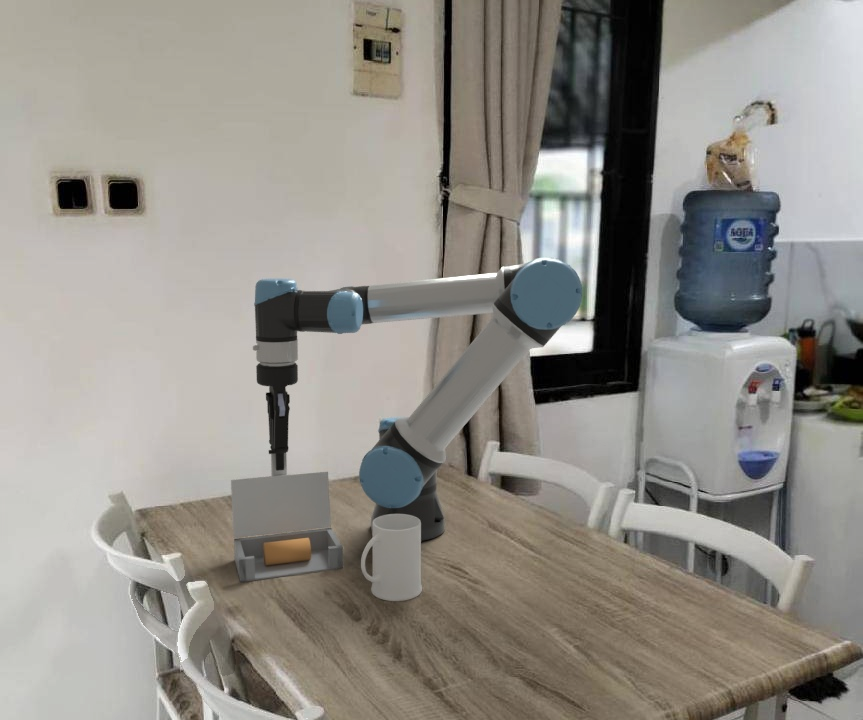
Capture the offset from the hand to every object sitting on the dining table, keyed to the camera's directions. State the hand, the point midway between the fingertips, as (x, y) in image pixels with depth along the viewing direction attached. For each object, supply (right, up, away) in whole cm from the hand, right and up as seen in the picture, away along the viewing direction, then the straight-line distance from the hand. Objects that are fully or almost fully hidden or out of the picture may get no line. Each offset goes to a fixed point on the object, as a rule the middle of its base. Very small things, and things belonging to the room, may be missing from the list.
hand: (279, 484), depth 146 cm
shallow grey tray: (+3, -13, -7) cm, 15 cm away
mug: (+22, -15, -18) cm, 32 cm away
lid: (+1, -3, -2) cm, 4 cm away
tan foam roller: (+3, -11, -7) cm, 13 cm away
